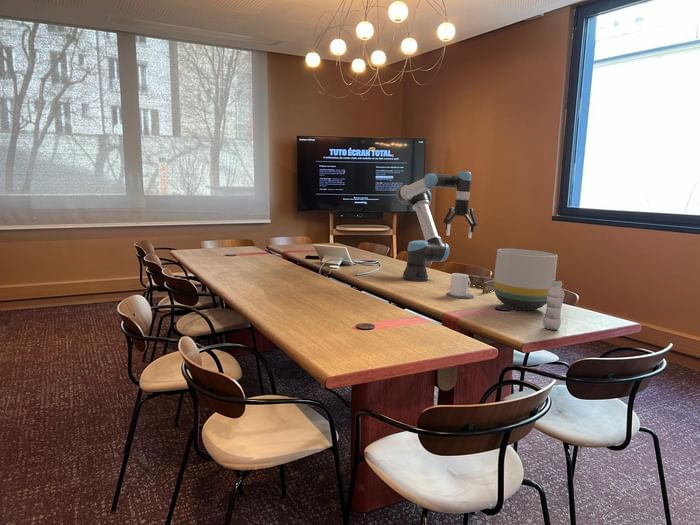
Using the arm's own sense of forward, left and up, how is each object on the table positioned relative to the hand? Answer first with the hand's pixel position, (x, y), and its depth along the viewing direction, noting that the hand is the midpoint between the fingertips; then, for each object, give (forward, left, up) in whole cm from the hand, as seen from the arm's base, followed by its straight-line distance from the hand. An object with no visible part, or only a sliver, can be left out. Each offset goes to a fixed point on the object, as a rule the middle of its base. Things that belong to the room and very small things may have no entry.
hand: (458, 236), depth 269 cm
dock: (+13, +1, -28) cm, 31 cm away
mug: (+15, -24, -28) cm, 40 cm away
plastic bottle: (+68, -53, -29) cm, 91 cm away
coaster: (+15, -24, -28) cm, 40 cm away
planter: (+47, -26, -29) cm, 61 cm away
